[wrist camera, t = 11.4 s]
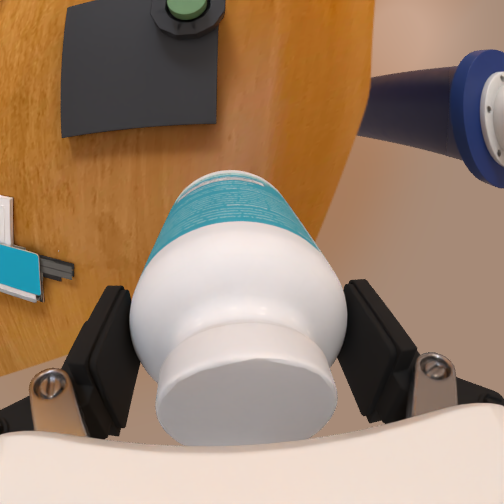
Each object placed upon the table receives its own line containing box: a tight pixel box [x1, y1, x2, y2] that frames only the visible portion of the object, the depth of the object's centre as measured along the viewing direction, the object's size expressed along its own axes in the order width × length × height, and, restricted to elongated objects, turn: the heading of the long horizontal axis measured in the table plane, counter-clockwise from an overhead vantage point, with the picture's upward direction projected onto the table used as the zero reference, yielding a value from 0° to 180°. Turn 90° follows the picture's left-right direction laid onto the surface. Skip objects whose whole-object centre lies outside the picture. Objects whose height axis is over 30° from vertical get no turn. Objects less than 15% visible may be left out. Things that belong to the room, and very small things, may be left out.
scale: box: [61, 0, 225, 138], centre depth 20 cm, size 14×13×3 cm
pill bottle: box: [129, 170, 348, 446], centre depth 13 cm, size 8×7×14 cm
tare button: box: [167, 0, 207, 20], centre depth 18 cm, size 3×3×2 cm
